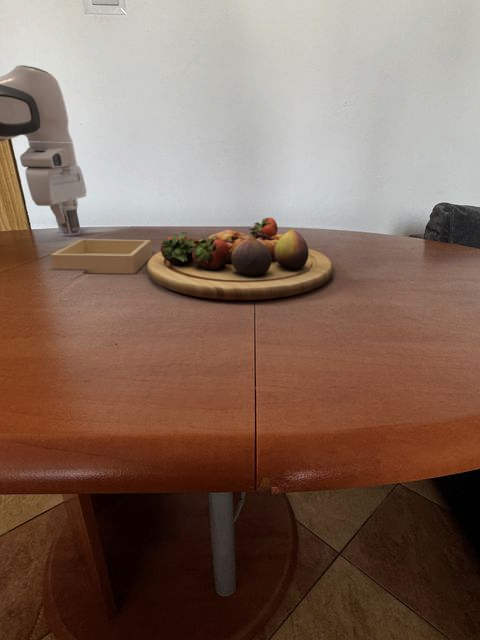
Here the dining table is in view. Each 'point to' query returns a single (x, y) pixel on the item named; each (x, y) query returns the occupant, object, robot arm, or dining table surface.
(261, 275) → the wooden plate
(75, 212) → the pill bottle
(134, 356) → the dining table surface
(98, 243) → the tray
